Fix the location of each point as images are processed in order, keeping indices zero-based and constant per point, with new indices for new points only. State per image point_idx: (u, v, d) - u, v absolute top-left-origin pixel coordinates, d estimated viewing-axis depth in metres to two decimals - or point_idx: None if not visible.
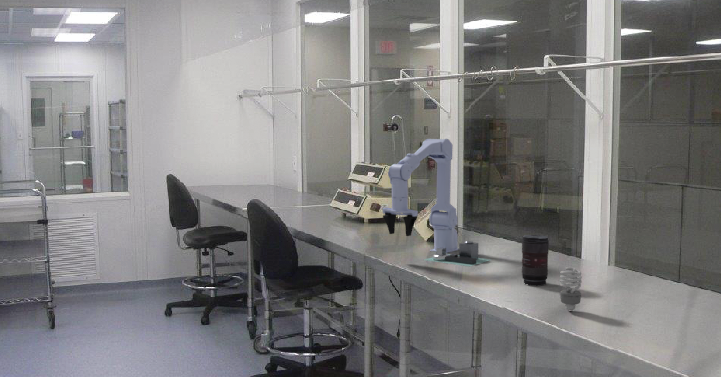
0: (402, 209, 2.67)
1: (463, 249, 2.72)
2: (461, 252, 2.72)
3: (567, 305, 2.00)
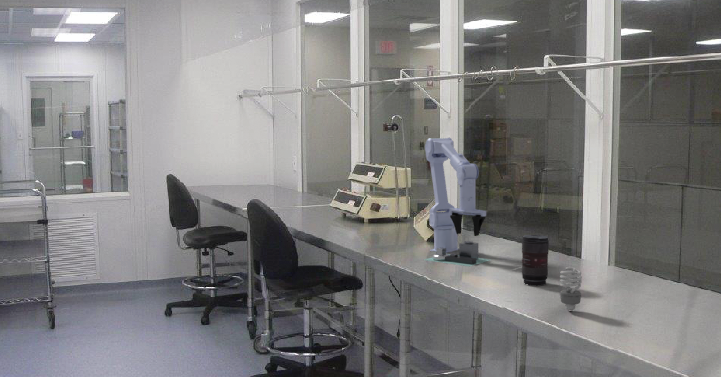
0: (470, 209, 2.69)
1: (463, 249, 2.72)
2: (461, 252, 2.72)
3: (567, 305, 2.00)
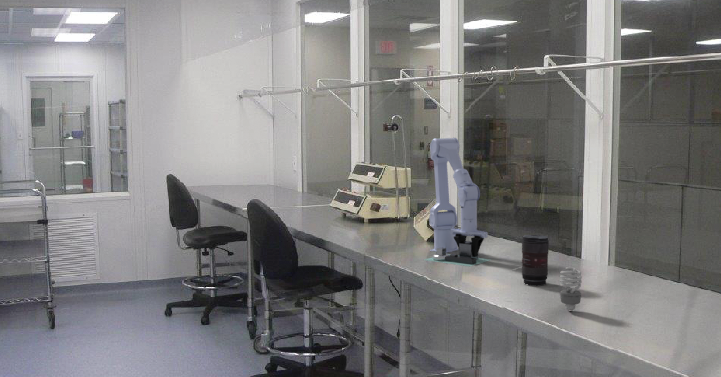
0: (472, 230, 2.69)
1: (463, 249, 2.72)
2: (461, 252, 2.72)
3: (567, 305, 2.00)
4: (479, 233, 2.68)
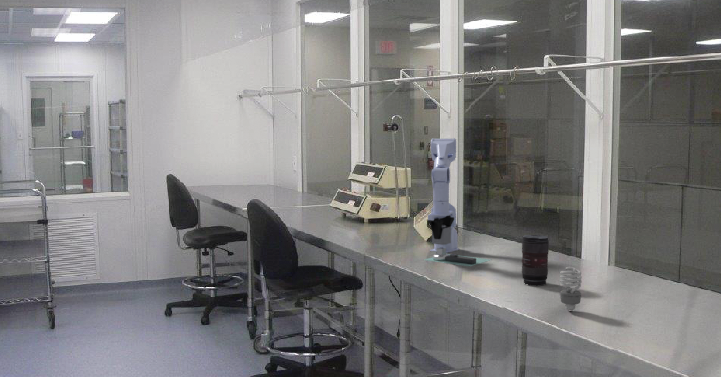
0: (433, 212, 2.71)
1: None
2: None
3: (567, 305, 2.00)
4: None
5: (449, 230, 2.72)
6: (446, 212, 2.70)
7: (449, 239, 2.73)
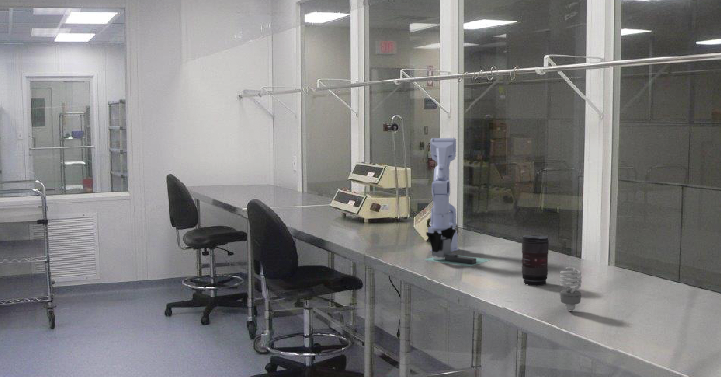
0: (433, 224, 2.72)
1: None
2: None
3: (567, 305, 2.00)
4: None
5: (449, 242, 2.73)
6: (446, 225, 2.70)
7: (449, 251, 2.74)
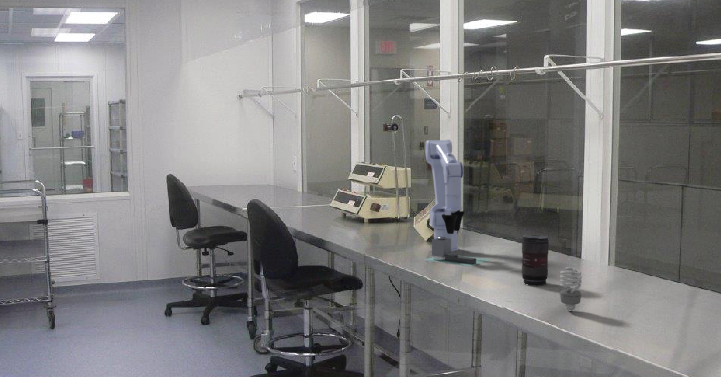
0: (447, 207, 2.73)
1: None
2: None
3: (567, 305, 2.00)
4: (445, 210, 2.70)
5: (449, 242, 2.73)
6: (460, 206, 2.73)
7: (449, 251, 2.74)
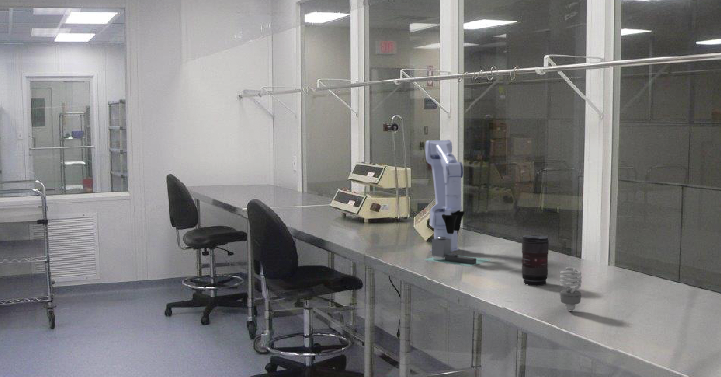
0: (447, 207, 2.73)
1: None
2: None
3: (567, 305, 2.00)
4: (445, 210, 2.70)
5: (449, 242, 2.73)
6: (460, 206, 2.73)
7: (449, 251, 2.74)
